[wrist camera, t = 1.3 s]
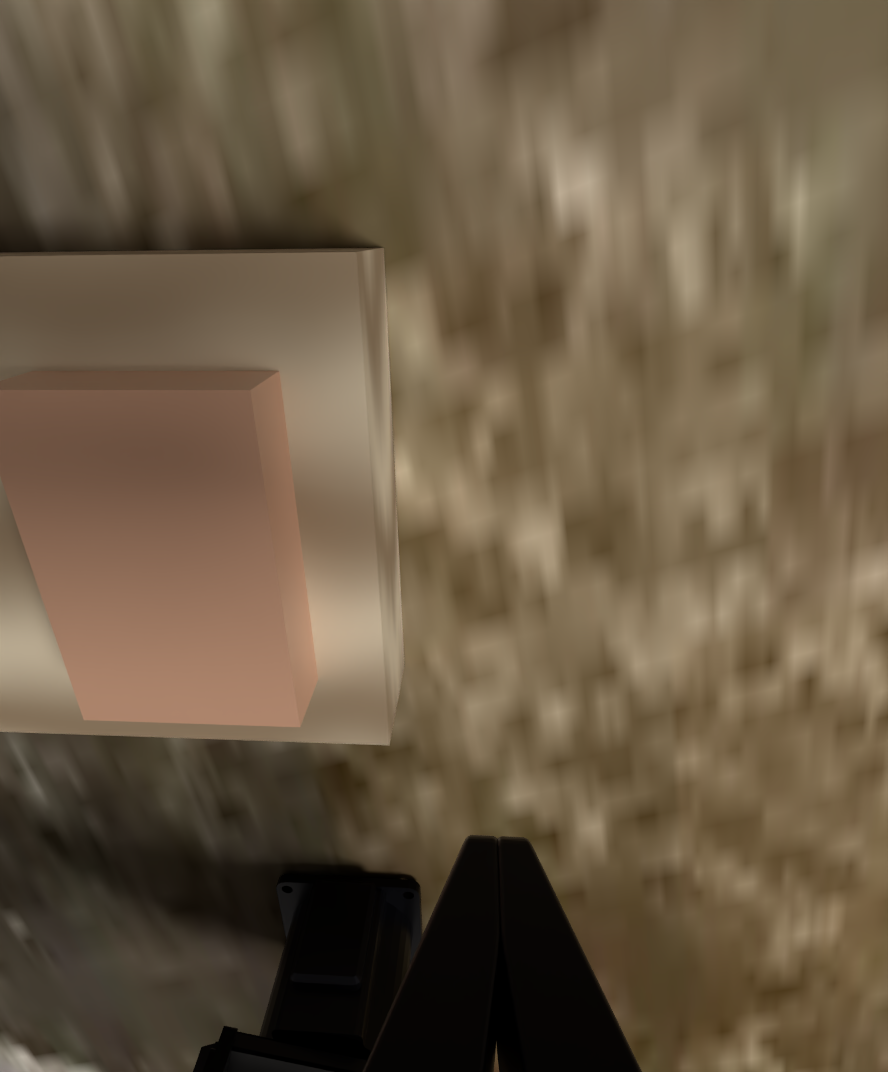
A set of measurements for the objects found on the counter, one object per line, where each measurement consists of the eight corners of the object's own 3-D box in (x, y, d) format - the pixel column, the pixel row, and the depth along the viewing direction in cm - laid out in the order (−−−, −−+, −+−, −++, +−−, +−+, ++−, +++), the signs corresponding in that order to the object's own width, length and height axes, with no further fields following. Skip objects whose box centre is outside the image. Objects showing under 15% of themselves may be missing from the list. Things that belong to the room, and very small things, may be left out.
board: (404, 665, 23) (389, 745, 19) (-10, 653, 24) (-97, 728, 20) (383, 247, 17) (356, 251, 13) (-171, 254, 18) (-336, 260, 14)
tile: (318, 679, 18) (299, 727, 17) (121, 673, 19) (83, 720, 17) (279, 370, 15) (250, 390, 13) (32, 370, 15) (-30, 390, 13)
